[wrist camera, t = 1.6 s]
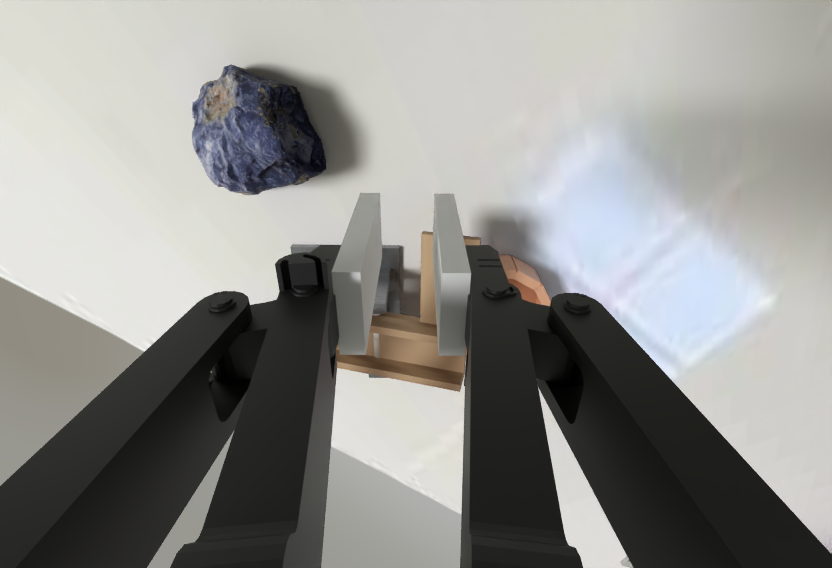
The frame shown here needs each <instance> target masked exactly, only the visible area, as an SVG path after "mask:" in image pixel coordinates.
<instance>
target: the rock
mask: <svg viewBox="0 0 832 568" xmlns="http://www.w3.org/2000/svg"><path fill="white" fill-rule="evenodd" d="M192 115H193V118H194V119H195V121H194V125H195V126H194V129H193V132H192V142H193V147H194V150H195V152H196V153H197V155H198V157H199V160H200V161H201V163H202V165H203V167H204V169H205V172H206V174H207V176H208V177H209V178H210V180H211V181H212V182H213V183H214V184H215V185H217V186H218V187H225V188H227V189H228V190H229V191H233V192H236V193H242V194H244V195H256V194H259V193H260V192H262V191H265V190H269V189H272V188H276V187H282V186H287V185H291V184H294V185H298V184H302V183H304V182H305V181H308V180H309V178H311V177H314V176H317V175H319V174H321V173H322V172H323V171H324V170H326V161H325V160H326V159H325V155H324V150H323V145H322V142H321V139H320V138H319V136H318V135H317V132H315V130H314V128H313V126H312V125H311V123H310V121H309V118H308V114H307V112H306V110H305V108H304V104H303V102H302V99H301V96H300V92H298V90H297V88H296V87H294V86H292V85H288V84H284V83H279V82H276V81H270V80H268V79H266V78H264V77H263V76H257V75H254V74H252V73H251V72H249V71H248V70H246V69H243V68H240V67H237V66H234V65H229V66H226V67H224V69H223V72H222V75H221V77H220V78H219V79H218V80H215V81H210V82H207V83H205V84H204V85H203V86H202V88H201V89H200V95H199V98H198V99H197V100H196V101H195V102H193V107H192ZM281 123H283V124H285V126H284V128H281V129H278V128H279V127H280V126H281ZM288 123H290V124H291V125H293V126H294V127H296V128H298V131H297V134H298V136H299V135H300V134H301V133H302V132H303V133H304V135H303V136H302V137H301V138H299V139H297V138H294V137H292V134H291V129H290V128H289V126H288V125H287V124H288Z"/></svg>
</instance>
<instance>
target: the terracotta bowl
mask: <svg viewBox="0 0 832 568" xmlns="http://www.w3.org/2000/svg"><path fill="white" fill-rule="evenodd" d="M499 257H500V261H501V263H502V265H503V268H504V271H505V274H506V276H507V279H508V282H509V283H510V284H513V285H514V286H515V287H517V288H518V289H519V291H520V292H521V296H522V299H523V300H526V301H528V302H532V303H536V304H541V305H546V306H550V303H551V300H550V298H549V296H548V294H547V292H546V290H545V288H544V286H543V284H542V282H541V280H540V278H539V276H538V274H537V272H536V270H535V269H534V268H533V267H531V266H529V265H528V264H526V263H524V262H522V261H521V260H519V259H517V258H515V257H514V256H510V255H499ZM466 355H467V349H466Z"/></svg>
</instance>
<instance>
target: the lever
mask: <svg viewBox="0 0 832 568" xmlns="http://www.w3.org/2000/svg"><path fill="white" fill-rule="evenodd" d="M463 238H464V243H465V245H481V238H479V237H470V236H463ZM336 358H337V368H341V369H346V370H351V371H357V372H362V373H367V374H372V375H377V376H382V377H387V378H392V379H398V380H403V381H408V382H413V383H418V384H423V385H428V386H434V387H439V388H444V389H449V390H454V391H459V392H460V389H461V385H462V381H463V378H464V373H465V361H466V346H465V356H439V352H438V336H437V320H436V304H435V288H434V271H433V232H426V231H423V232H422V234H421V300H420V317H415V316H409V315H402V314H396V313H390V312H386V314H372V319H371V325H370V331H369V337H368V344H367V350H366V355H340V353H339V343H338V344H337V348H336Z"/></svg>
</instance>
